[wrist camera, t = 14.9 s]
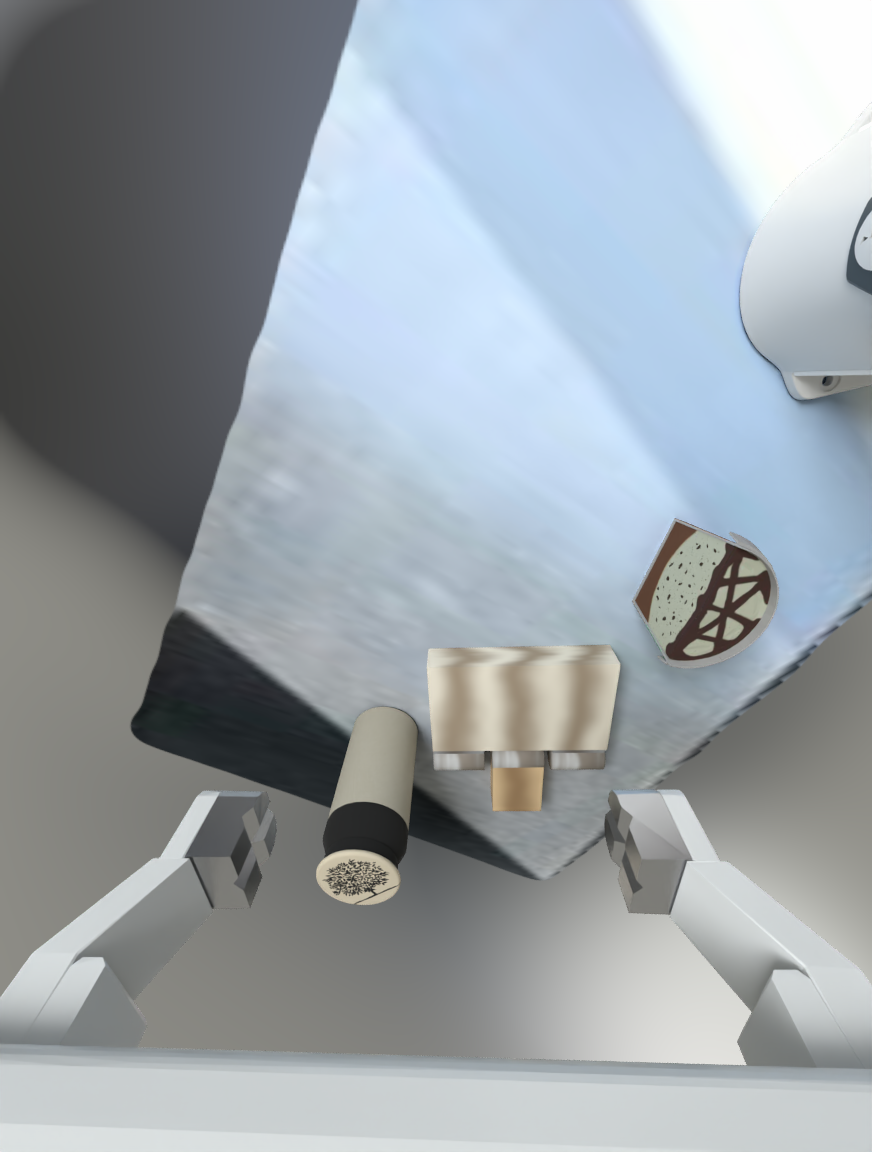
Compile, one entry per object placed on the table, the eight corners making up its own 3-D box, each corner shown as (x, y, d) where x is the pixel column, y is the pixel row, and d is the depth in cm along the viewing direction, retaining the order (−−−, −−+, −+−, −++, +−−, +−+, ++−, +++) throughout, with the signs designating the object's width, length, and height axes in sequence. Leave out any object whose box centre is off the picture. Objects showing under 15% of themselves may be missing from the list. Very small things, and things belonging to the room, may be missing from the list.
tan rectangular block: (539, 730, 54) (545, 753, 51) (536, 787, 59) (540, 811, 55) (490, 731, 55) (492, 753, 51) (490, 787, 59) (492, 811, 56)
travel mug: (342, 718, 54) (294, 867, 38) (397, 695, 53) (372, 842, 36) (375, 760, 57) (345, 915, 41) (429, 740, 56) (419, 894, 39)
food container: (679, 626, 47) (733, 687, 38) (625, 612, 47) (667, 671, 38) (742, 519, 42) (820, 561, 33) (682, 503, 42) (745, 541, 33)
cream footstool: (609, 644, 48) (620, 664, 45) (594, 752, 55) (603, 776, 52) (428, 648, 50) (426, 668, 46) (435, 753, 56) (434, 776, 53)
